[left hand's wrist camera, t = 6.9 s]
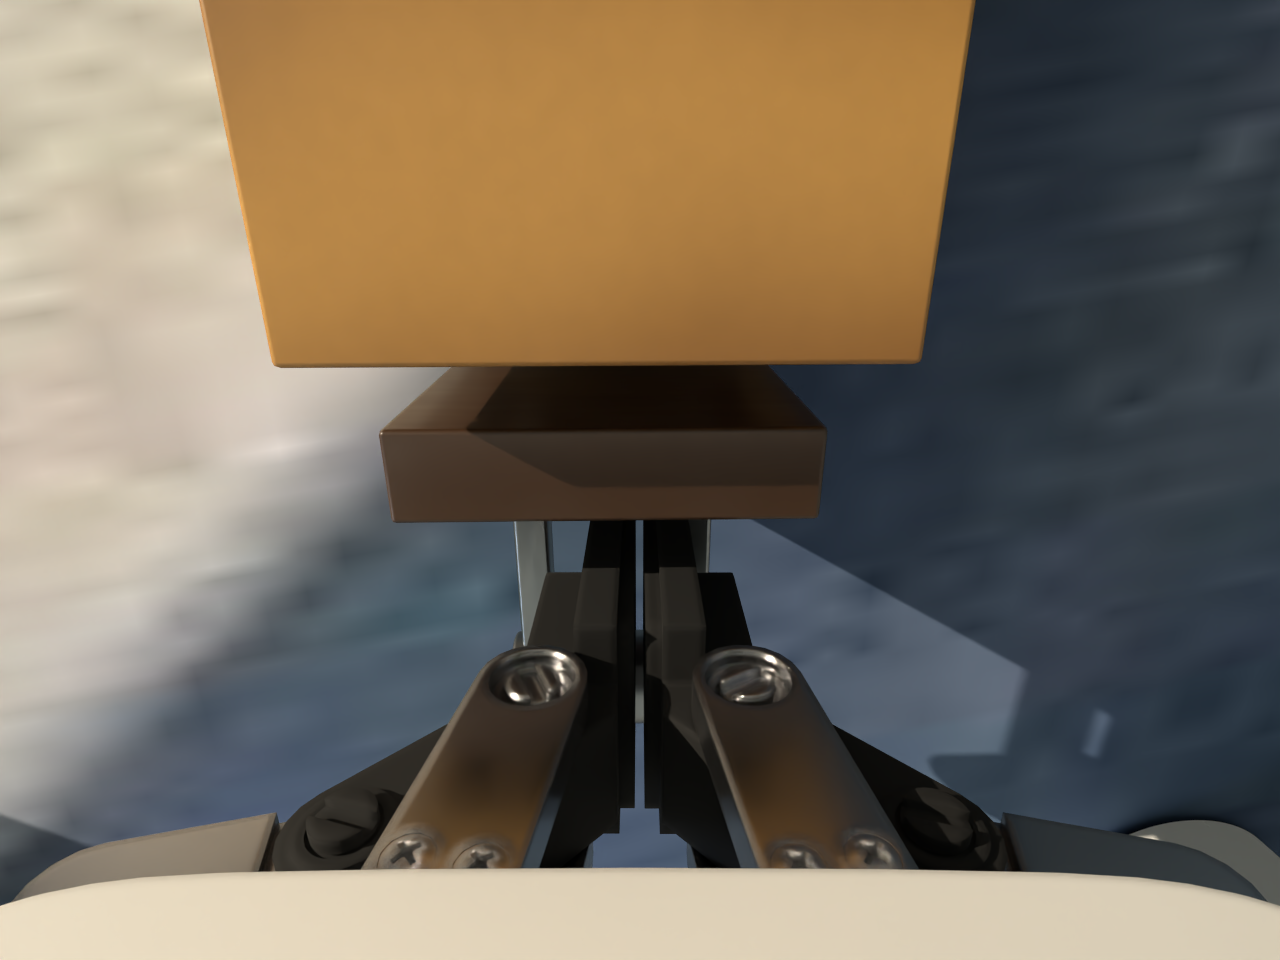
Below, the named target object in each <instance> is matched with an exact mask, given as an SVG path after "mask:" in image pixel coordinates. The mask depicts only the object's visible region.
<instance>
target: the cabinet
mask: <svg viewBox="0 0 1280 960" xmlns="http://www.w3.org/2000/svg"><path fill="white" fill-rule="evenodd" d="M975 1H976V0H199V2H200V7H201V12H202V17H203V22H204V27H205V32H206V37H207V41H208V46H209V51H210V56H211V61H212V66H213V71H214V76H215V81H216V86H217V91H218V96H219V101H220V106H221V111H222V116H223V121H224V126H225V131H226V136H227V141H228V146H229V151H230V156H231V160H232V165H233V170H234V175H235V180H236V185H237V190H238V195H239V200H240V205H241V210H242V215H243V220H244V225H245V230H246V235H247V240H248V245H249V250H250V255H251V260H252V265H253V270H254V275H255V279H256V284H257V289H258V294H259V299H260V304H261V309H262V314H263V319H264V324H265V329H266V334H267V339H268V344H269V349H270V354H271V359H272V362H273V364H274V366H277V367H280V368H346V367H508V366H671V365H833V364H915V363H918V362H920V360H921V358H922V352H923V346H924V339H925V332H926V326H927V319H928V312H929V306H930V299H931V293H932V286H933V279H934V273H935V266H936V259H937V253H938V246H939V240H940V233H941V226H942V220H943V213H944V206H945V200H946V193H947V187H948V180H949V173H950V167H951V160H952V153H953V147H954V140H955V133H956V127H957V120H958V114H959V107H960V100H961V94H962V87H963V80H964V74H965V67H966V61H967V54H968V47H969V41H970V34H971V27H972V21H973V14H974V8H975Z"/></svg>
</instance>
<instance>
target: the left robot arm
mask: <svg viewBox="0 0 1280 960" xmlns="http://www.w3.org/2000/svg"><path fill="white" fill-rule="evenodd" d="M643 688H644V786H645V808H659V819H660V834H677V835H678V836H679V837H681V838H682V839H683V840H684V841H686V842H687V866H688V868H592V866H593V841H595V840H596V839H597V838H598V837H600V836H601V835H602V834H603V833H619V829H620V808H635V699H636V520H604V521H590V526H589V532H588V538H587V544H586V550H585V556H584V562H583V568H582V572H548V573H546V576H545V579H544V583H543V587H542V590H541V594H540V598H539V602H538V606H537V609H536V613H535V617H534V621H533V625H532V628H531V632H530V636H529V640H528V643H527V646H524V647H518V648H514V649H512V650H509V651H506V652H504V653H501V654H499V655H498V656H496V657H495V658H493V659H492V660H490V661H489V662H487V664H486V665H485V666H484V667H483V668H482V669H481V671H480V672H479V673H478V675H477V677H476V678H475V680H474V682H473V683H472V685H471V687H470V688H469V690H468V692H467V693H466V695H465V697H464V698H463V700H462V702H461V703H460V705H459V707H458V708H457V710H456V712H455V713H454V715H453V717H452V718H451V720H450V722H449V723H448V724H447V725H445V726H443V727H441V728H439V729H438V730H436V731H434V732H432V733H430V734H428V735H427V736H425V737H423V738H421V739H419V740H417V741H416V742H414V743H412V744H410V745H408V746H407V747H405V748H403V749H401V750H399V751H397V752H396V753H394V754H392V755H390V756H388V757H387V758H385V759H383V760H381V761H379V762H377V763H376V764H374V765H372V766H370V767H368V768H366V769H365V770H363V771H361V772H359V773H357V774H356V775H354V776H352V777H350V778H348V779H346V780H345V781H343V782H341V783H339V784H337V785H335V786H334V787H332V788H330V789H328V790H326V791H325V792H323V793H321V794H319V795H318V796H316V797H315V798H313V799H312V800H310V801H309V802H307V803H306V804H304V805H303V806H301V807H300V808H299V809H298V810H297V811H296V812H295V813H294V814H293V815H292V817H291V818H290V819H289V820H288V821H287V822H283V823H279V821H278V817H277V813H270V814H265V815H259V816H254V817H248V818H243V819H237V820H231V821H226V822H220V823H215V824H209V825H203V826H198V827H192V828H187V829H181V830H175V831H170V832H164V833H159V834H153V835H147V836H142V837H136V838H131V839H125V840H119V841H114V842H108V843H104V844H100V845H97V846H94V847H90V848H87V849H84V850H80V851H78V852H76V853H74V854H72V855H70V856H68V857H66V858H64V859H62V860H61V861H59V862H57V863H55V864H53V865H51V866H50V867H49V868H47V869H46V870H45V871H43V872H42V873H41V874H39V875H38V876H37V877H35V878H34V879H33V880H32V881H30V882H29V883H28V884H27V885H26V886H25V887H24V888H23V889H22V891H21V892H20V893H19V894H18V895H17V896H16V897H15V899H14V900H13V901H12V902H11V903H8V904H5V905H1V906H0V960H1280V906H1279V905H1275V904H1272V903H1269V902H1268V901H1267V900H1266V899H1265V898H1264V897H1263V896H1262V894H1261V893H1260V892H1259V891H1258V890H1257V889H1256V888H1255V886H1254V885H1253V884H1252V883H1251V882H1249V881H1248V880H1247V879H1245V878H1244V877H1243V876H1242V875H1240V874H1239V873H1238V872H1236V871H1235V870H1234V869H1232V868H1231V867H1230V866H1228V865H1227V864H1225V863H1223V862H1221V861H1219V860H1217V859H1215V858H1213V857H1211V856H1209V855H1208V854H1206V853H1204V852H1202V851H1200V850H1196V849H1193V848H1190V847H1186V846H1183V845H1179V844H1176V843H1172V842H1166V841H1161V840H1155V839H1149V838H1144V837H1138V836H1133V835H1127V834H1121V833H1116V832H1110V831H1104V830H1099V829H1093V828H1088V827H1082V826H1076V825H1071V824H1065V823H1060V822H1054V821H1048V820H1043V819H1037V818H1032V817H1026V816H1020V815H1015V814H1009V813H1004V812H1003V815H1002V819H1001V823H996V822H993V821H992V820H991V819H990V818H989V817H988V816H987V815H986V814H985V813H984V812H983V811H982V810H981V809H980V808H979V807H978V806H977V805H975V804H974V803H972V802H971V801H969V800H968V799H966V798H965V797H963V796H962V795H960V794H959V793H957V792H955V791H953V790H951V789H950V788H948V787H946V786H944V785H942V784H940V783H939V782H937V781H935V780H933V779H931V778H929V777H928V776H926V775H924V774H922V773H920V772H918V771H917V770H915V769H913V768H911V767H909V766H907V765H906V764H904V763H902V762H900V761H898V760H897V759H895V758H893V757H891V756H889V755H887V754H886V753H884V752H882V751H880V750H878V749H876V748H875V747H873V746H871V745H869V744H867V743H865V742H864V741H862V740H860V739H858V738H856V737H854V736H853V735H851V734H849V733H847V732H845V731H844V730H842V729H840V728H838V727H836V726H834V725H833V724H832V723H831V722H830V720H829V718H828V717H827V715H826V713H825V712H824V710H823V708H822V707H821V705H820V703H819V702H818V700H817V698H816V697H815V695H814V693H813V692H812V690H811V688H810V687H809V685H808V683H807V682H806V680H805V678H804V677H803V675H802V673H801V672H800V671H799V669H798V668H797V667H796V666H795V665H794V664H793V662H791V661H790V660H788V659H787V658H785V657H784V656H782V655H781V654H779V653H776V652H774V651H771V650H768V649H766V648H762V647H756V646H752V643H751V639H750V635H749V632H748V628H747V624H746V620H745V616H744V613H743V609H742V605H741V601H740V598H739V594H738V590H737V586H736V583H735V579H734V576H733V573H697V568H696V562H695V556H694V550H693V544H692V538H691V532H690V525H689V520H643Z"/></svg>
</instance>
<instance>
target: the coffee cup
mask: <svg viewBox="0 0 1280 960" xmlns="http://www.w3.org/2000/svg"><path fill="white" fill-rule="evenodd" d="M1130 835H1133V836H1138V837H1144V838H1149V839H1155V840H1161V841H1166V842H1172V843H1176V844H1179V845H1183V846H1186V847H1190V848H1193V849H1196V850H1200V851H1202V852H1204V853H1206V854H1208V855H1209V856H1211V857H1213V858H1215V859H1217V860H1219V861H1221V862H1223V863H1225V864H1227V865H1228V866H1230V867H1231V868H1232V869H1234V870H1235V871H1236V872H1238V873H1239V874H1240V875H1242V876H1243V877H1244V878H1245V879H1247V880H1248V881H1249V882H1251V883H1252V884H1253V885H1254V886H1255V888H1256V889H1257V890H1258V891H1259V892H1260V893H1261V894H1262V896H1263V897H1264V898H1265V899H1266V900H1267V901H1268V902H1269V903H1272V904H1275V905H1279V906H1280V857H1279V856H1277V855H1276V854H1275V853H1274V852H1273V851H1272V850H1270V849H1269V848H1268V847H1267V846H1266V845H1265V844H1264V843H1262V842H1261V841H1260V840H1259V839H1258V838H1257V837H1255V836H1254V835H1253V834H1251V833H1249V832H1248V831H1246V830H1244V829H1242V828H1239V827H1237V826H1234V825H1231V824H1227V823H1222V822H1216V821H1206V820H1188V821H1178V822H1171V823H1165V824H1161V825H1157V826H1153V827H1149V828H1146V829H1143V830H1140V831H1137V832H1135V833H1132V834H1130Z"/></svg>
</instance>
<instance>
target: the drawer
mask: <svg viewBox="0 0 1280 960" xmlns="http://www.w3.org/2000/svg"><path fill="white" fill-rule="evenodd" d="M379 438H380V445H381V451H382V458H383V465H384V472H385V478H386V485H387V492H388V498H389V505H390V512H391V518H392V520H393V522H396V523H411V522H508V521H513V524H514V537H515V550H516V563H517V576H518V589H519V602H520V615H521V628H522V631H520V632H518V633H517V635H516V638H515V640H514V645H513V649H514V648H518V647H524V646H527V643H528V640H529V636H530V632H531V628H532V625H533V621H534V617H535V613H536V609H537V606H538V602H539V598H540V594H541V590H542V587H543V583H544V579H545V576H546V573H548V572H554V556H553V538H552V521H604V520H689V525H690V532H691V538H692V544H693V550H694V556H695V562H696V568H697V573H709V560H710V535H711V519H798V518H817V517H818V514H819V508H820V499H821V489H822V479H823V470H824V460H825V450H826V441H827V428H826V427H825V426H824V425H823V423H822V422H821V421H820V420H819V419H818V418H817V417H816V416H815V415H814V414H813V413H812V412H811V411H810V410H809V408H808V407H807V406H806V405H805V404H804V403H803V402H802V401H801V400H800V399H799V398H798V397H797V396H796V395H795V393H794V392H793V391H792V390H791V389H790V388H789V387H788V386H787V385H786V384H785V383H784V382H783V381H782V379H781V378H780V377H779V376H778V375H777V374H776V373H775V372H774V371H773V370H772V369H771V368H770V367H769V366H768V365H671V366H508V367H451V368H450V369H449V370H448V371H446V372H445V373H444V374H443V375H442V376H441V377H440V378H439V379H438V380H436V381H435V382H434V383H433V384H432V385H431V386H430V387H429V388H428V389H426V390H425V391H424V392H423V393H422V394H421V395H420V396H419V397H417V398H416V399H415V400H414V401H413V402H412V403H411V404H410V405H409V406H407V407H406V408H405V409H404V410H403V411H402V412H401V413H400V414H399V415H397V416H396V417H395V418H394V419H393V420H392V421H391V422H390V423H388V424H387V425H386V426H385V427H384V428H383V429H382V430H381V431H380V433H379ZM635 723H644V688H643V630H636V699H635Z"/></svg>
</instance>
